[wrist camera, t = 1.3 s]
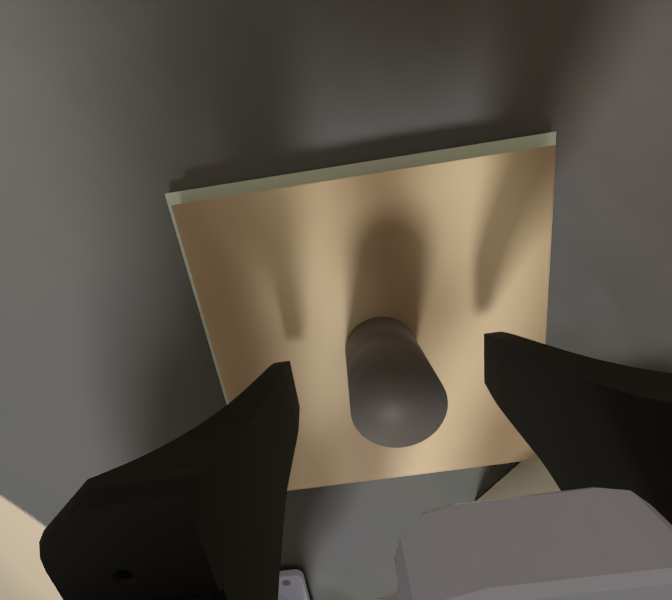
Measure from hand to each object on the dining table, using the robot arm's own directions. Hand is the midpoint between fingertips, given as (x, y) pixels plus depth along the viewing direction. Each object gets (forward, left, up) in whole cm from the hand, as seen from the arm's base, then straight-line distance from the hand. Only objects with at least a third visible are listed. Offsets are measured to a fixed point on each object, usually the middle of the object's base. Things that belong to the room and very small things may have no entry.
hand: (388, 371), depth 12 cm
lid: (0, 0, -3) cm, 3 cm away
